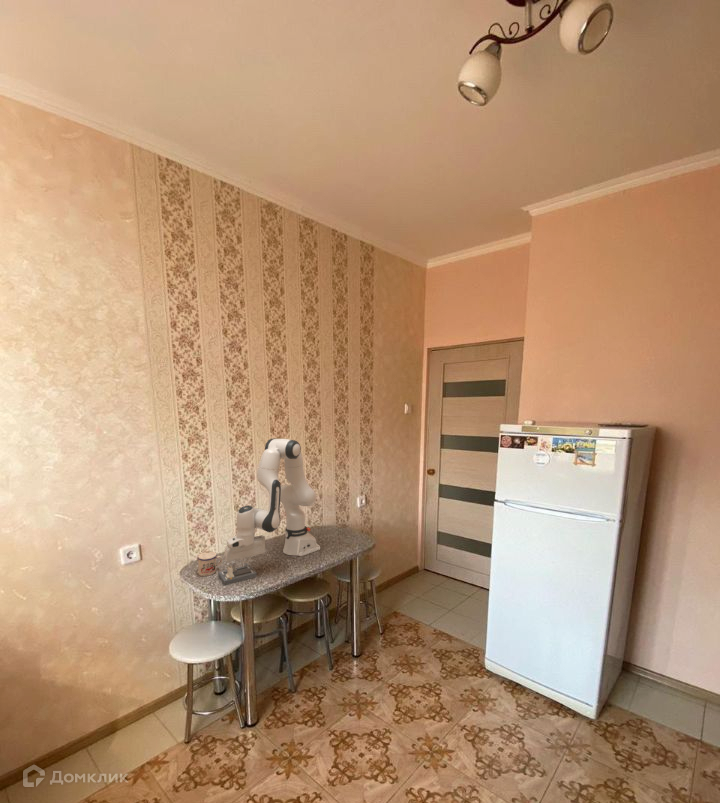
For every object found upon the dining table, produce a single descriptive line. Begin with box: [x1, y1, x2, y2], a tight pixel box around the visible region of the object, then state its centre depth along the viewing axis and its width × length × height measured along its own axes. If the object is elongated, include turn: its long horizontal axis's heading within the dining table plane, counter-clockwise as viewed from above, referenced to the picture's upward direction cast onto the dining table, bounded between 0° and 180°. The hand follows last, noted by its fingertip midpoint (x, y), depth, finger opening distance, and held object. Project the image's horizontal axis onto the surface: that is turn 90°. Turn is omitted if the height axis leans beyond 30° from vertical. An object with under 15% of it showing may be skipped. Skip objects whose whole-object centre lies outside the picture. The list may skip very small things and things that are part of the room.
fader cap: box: [226, 565, 234, 579], centre depth 181 cm, size 3×3×5 cm
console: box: [218, 560, 257, 586], centre depth 186 cm, size 16×11×7 cm
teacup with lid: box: [197, 549, 223, 577], centre depth 190 cm, size 12×9×12 cm
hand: (245, 565), depth 185 cm, fingers closed
